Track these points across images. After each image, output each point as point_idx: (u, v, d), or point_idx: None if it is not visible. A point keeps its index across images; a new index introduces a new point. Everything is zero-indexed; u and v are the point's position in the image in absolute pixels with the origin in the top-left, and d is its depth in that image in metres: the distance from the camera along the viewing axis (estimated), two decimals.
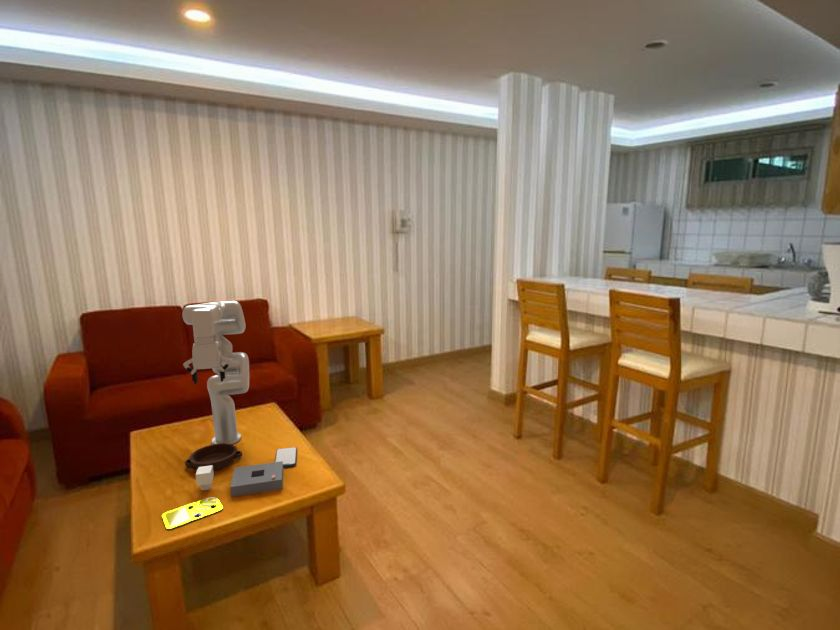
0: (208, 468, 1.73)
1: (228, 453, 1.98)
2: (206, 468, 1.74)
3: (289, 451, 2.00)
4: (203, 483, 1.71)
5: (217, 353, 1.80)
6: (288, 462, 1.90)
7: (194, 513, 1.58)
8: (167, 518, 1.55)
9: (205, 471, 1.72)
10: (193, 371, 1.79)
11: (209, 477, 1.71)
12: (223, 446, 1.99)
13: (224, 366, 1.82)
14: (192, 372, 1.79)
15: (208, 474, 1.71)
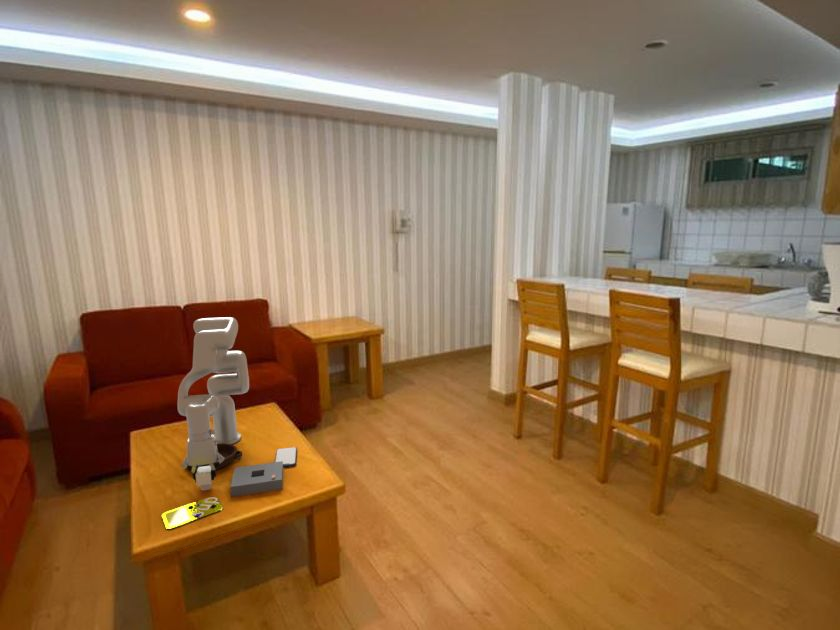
0: (208, 468, 1.73)
1: (228, 453, 1.98)
2: (206, 468, 1.74)
3: (289, 450, 2.00)
4: (203, 483, 1.71)
5: (213, 449, 1.70)
6: (288, 462, 1.90)
7: (194, 513, 1.58)
8: (167, 518, 1.55)
9: (205, 471, 1.72)
10: (194, 470, 1.71)
11: (209, 477, 1.71)
12: (223, 446, 1.99)
13: (216, 465, 1.73)
14: (193, 471, 1.71)
15: (208, 474, 1.71)
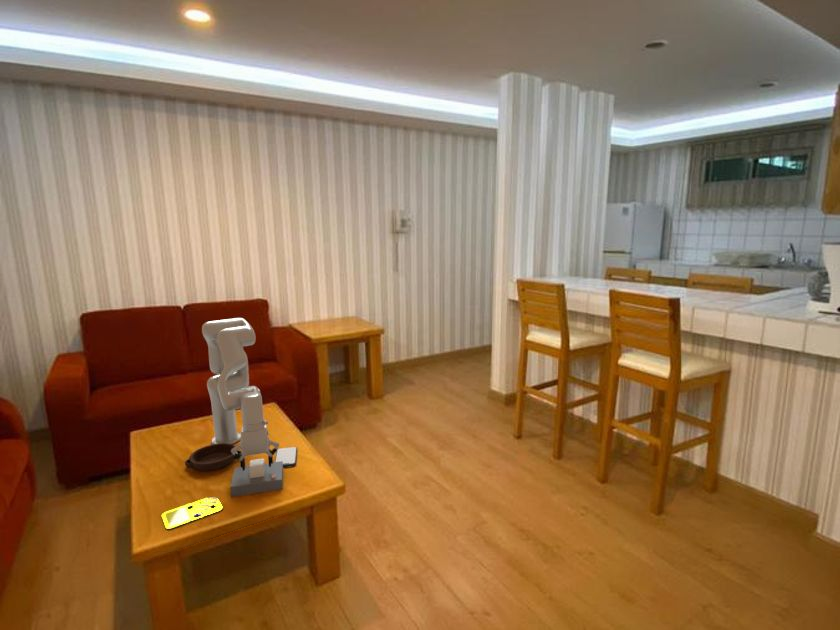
0: (260, 461, 1.76)
1: (228, 453, 1.98)
2: (258, 461, 1.76)
3: (289, 450, 2.00)
4: (256, 476, 1.74)
5: (266, 439, 1.73)
6: (288, 462, 1.90)
7: (194, 513, 1.58)
8: (167, 518, 1.55)
9: (258, 464, 1.74)
10: (241, 458, 1.72)
11: (262, 470, 1.74)
12: (223, 446, 1.99)
13: (272, 451, 1.75)
14: (240, 459, 1.72)
15: (261, 467, 1.73)
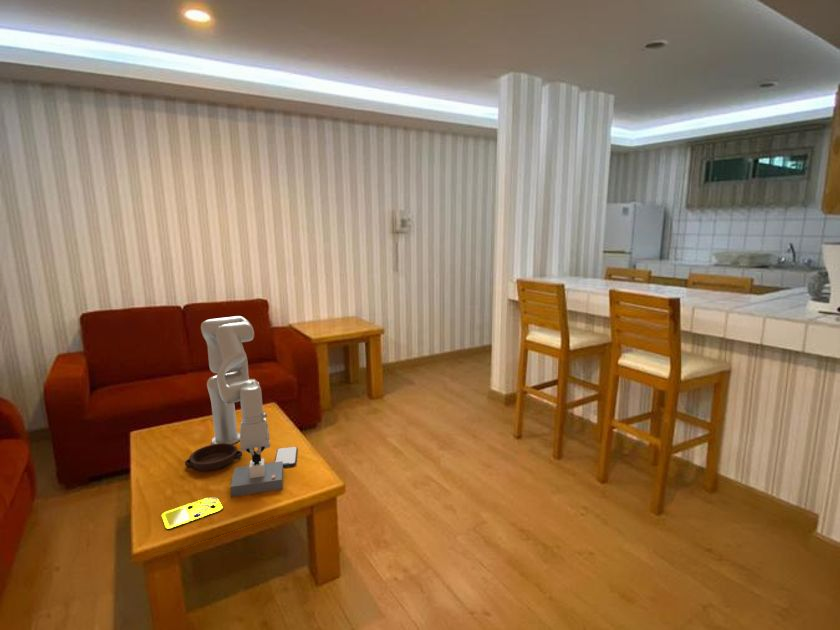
0: (260, 461, 1.76)
1: (228, 453, 1.98)
2: None
3: (290, 450, 2.00)
4: (256, 476, 1.74)
5: (265, 431, 1.72)
6: (288, 461, 1.90)
7: (194, 513, 1.58)
8: (167, 518, 1.55)
9: None
10: (253, 452, 1.73)
11: (262, 470, 1.74)
12: (223, 446, 1.99)
13: None
14: (252, 453, 1.73)
15: (261, 467, 1.73)
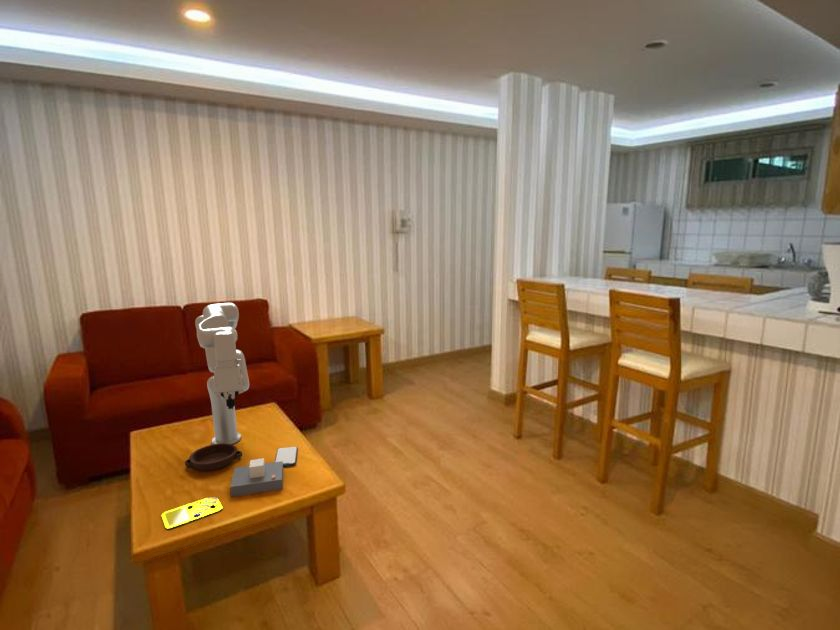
0: (260, 461, 1.76)
1: (228, 453, 1.98)
2: (258, 461, 1.76)
3: (290, 450, 2.00)
4: (256, 476, 1.74)
5: (239, 376, 1.78)
6: (288, 461, 1.90)
7: (193, 513, 1.58)
8: (167, 518, 1.55)
9: (258, 464, 1.74)
10: (227, 396, 1.78)
11: (262, 470, 1.74)
12: (223, 446, 1.99)
13: None
14: (226, 397, 1.78)
15: (261, 467, 1.73)
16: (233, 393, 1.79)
